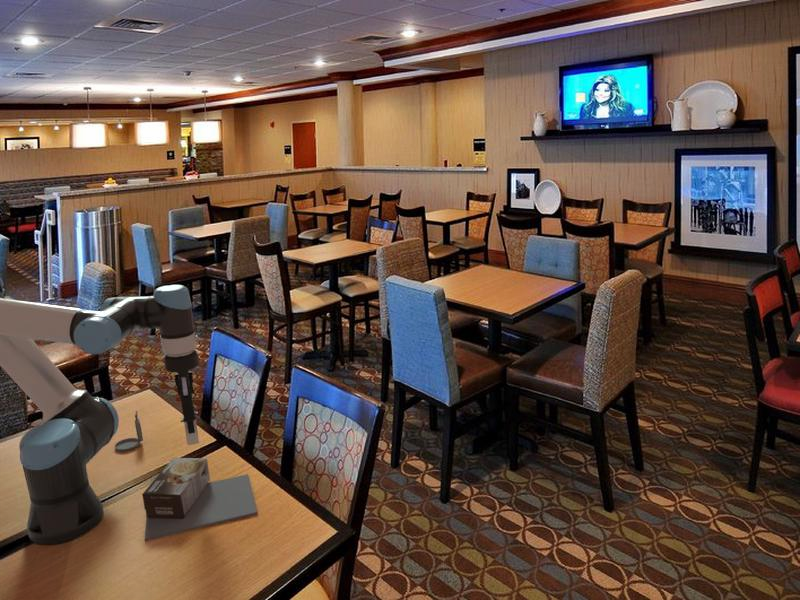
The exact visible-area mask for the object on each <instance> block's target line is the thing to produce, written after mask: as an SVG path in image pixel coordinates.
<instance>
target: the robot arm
mask: <svg viewBox="0 0 800 600" xmlns="http://www.w3.org/2000/svg"><path fill="white" fill-rule="evenodd" d="M4 286H5V284H4V281H3V279H2V277H1V276H0V367H1V368H2V369H3V370H4V371H5V373H7V375H8V376H9V377H10V378H11V379H12V380H13V381H14V383H15V384H17V386H18V387H19V389H21V391H23V392H24V393H25V395H26V396H27V397H28V398H29V399H30V400H31V401H32V402H33V403H34V405H36V406H37V408H38V409H39V410H40V411H41V412H42V419H41V423H42V424H37V425H35V426H33V427H31V428H30V429H29V430H28V431H26V433H24V434H23V436H22V437H21V439H20V441H19V444H18V445H19V446H18V449H19V460H20V464H21V466H22V469H23V473H24V478H25V482H26V487H27V491H28V494H29V499H30V505H29V506H30V507H29V512H28V518H27V524H26V529H27V535H28V538H29V540H30V541H31V542H32V543H35V544H38V545H48V546H49V545H57V544H62V543H66V542H69V541H72V540H74V539H78V538H79V537H82V536H84V535H86V534H87V533H88V532H90V531H92V530H93V529H95V528H96V527H97V526H98V525H99V523H101V521H102V519H103V518H104V508H103V504H102V501H101V500H100V498H99V497H98V495H97V494H96V492H95V491H94V490H93V488H92V486H91V485H90V480H89V475H88V472H87V464H88V463H89V462H90V461H91V460H92V459H93V458H94V457H95V456H96V455H97V454H98V453H99V452H100V451H101V450H102V449H103V448H104V447H106V445H108V444H109V443H110V442H111V440H112V439H113V437H114V436H115V435H116V433H117V431H118V429H119V423H120V422H119V421H120V420H119V414H118V411H117V409H116V408H115V406H114V405H113V404H112V403H111V402H110V401H109V400H108V399H106V398H100V397H99V396H92V395H91V394H90V393H89V391H88V390H87V389H77V388H76V387H75V386H74V385H73V384H72V383H71V382H70V380H69V379H68V378H67V377H66V376H65V375H64V374H63V373H62V371H61V370H60V369H59V368H58V367H57V366H56V365H55V363H54V362H53V361H52V360H51V359H50V357H49V356H48V355H47V354H46V353H45V351H43V350H42V349H41V347H40V346H39V345H38V344H37V343H36V342H35V340H39V341H47V342H56V343H61V344H70V345H76V346H77V348H78V349H79V350H82V351H83V352H85V353H86V354H88V355H100V354H102V353H105V352H107V351H109V350H111V349H112V348H114V347H115V346H117V344H119V343H120V342H121V341H123V340H124V339H125V338H127V337H128V336H130V335H131V334H134V333H135V332H136V331H138V330H152V329H153V330H154V329H155V330H156V329H158V330H159V334H160V335H159V336H160V337H159V338H160V344H161V349H162V353H163V354H164V355H163V362H164V369H165V370H166V371H167V372H170V373H174V381H175V382H174V384H175V386H176V388H177V394H178V396H180V402H181V410H182V415H183V418H182V417H181V418H180V422H181V423H184V432H185V439H186V444H187V446H191V445H198V444H200V440H199V439H200V438H199V432H198V426H197V418H196V416H198V415H199V413H198V410H197V411H195V405H194V401H193V394H194V385H193V384H194V377H193V371H191V370H194V369H196V368H197V367H198V366H199V363H200V361H199V360H200V359H199V354H198V350H197V349H196V348H197V340H199V336H198V335H197V334H196V332H195V326H194V316H193V304H192V300H191V296H190V291H189V288H187V286H184V284H183V285H182V284H170V285H162V286H159V287H157V288H155V289H154V291H153V295H151V296H149V295H147V296H145V295H143V296H124V295H122V296H117V297H110V298H109V297H108V298H107V299H105V300H104V301H103V303H102V304H101V306H100V309H99V310H90V309H83V308H78V307H69V306H61V305H53V304H48V303H40V302H31V301H24V300H18V299H17V300H16V299H11V298H10V299H9V298H6V297H5V296H4V295H5V288H4ZM195 334H196V335H195Z"/></svg>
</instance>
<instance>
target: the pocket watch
mask: <svg viewBox="0 0 800 600" xmlns="http://www.w3.org/2000/svg"><path fill="white" fill-rule="evenodd" d="M138 415H139V414H138V410H136V411H135V415H134V418H135V419H134V426H135V431H136V435H137V438H136V437H128V438H125V439H121V440H119V441H118V442H116V443H115V444H114V449H115V450H116V451H119V452H126V451H131V450H134V449H135V448H137V447H139V445H140V444H141V442H143V441H144V438H143V437H144V436H143V431H142V426H141V421H140V419H139V418H138Z"/></svg>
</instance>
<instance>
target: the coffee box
mask: <svg viewBox="0 0 800 600" xmlns="http://www.w3.org/2000/svg"><path fill="white" fill-rule="evenodd" d="M209 482H211V475H210V469H209V462H208V458H206V457H205V458H199V457H198V458H197V457H196V458H195V457H193V458H191V457H173V458H172V459H171V460H170V461H169V462H168V463H167V464H166V465H165V467H164V468H163V469H162V471H160V473H159V474H158V475H157V476H156V477H155V478H154V480H153V481H152V482H151V483H150V484H149V486H148V487H147V488H146V489H145V490H144V491H143V493H142V494H141V495H142V500H143V507H144V510H145V517H146V516H147V518H184V517H185V515H186V514H187V512H188V511H189V510H190V508H191V507H192V505H193V504H194V502H195V501H196V499H197V498H198V497H199V495H200V494H201V492H202V491H203V489H204V488H205V486H206V485H207V484H208V483H209Z"/></svg>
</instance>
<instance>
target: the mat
mask: <svg viewBox="0 0 800 600" xmlns="http://www.w3.org/2000/svg"><path fill="white" fill-rule="evenodd" d="M258 513H259V511H258V509H257V504H256V500H255V497H254V492H253V489H252V482H251V479H250V477H249V474H248V473H247V474H243V475H237V476H233V477H228V478H222V479H219V480H215V481H209V482H208V484H207V485H206V486H205V488H204V489H203V491H202V492H201V494H200V495H199V497H198V498H197V499H196V501H195V502H194V504H193V505H192V507H191V508H190V510H189V511H188V512H187V514H186V515H185V517H184V518H147V516H146V515H145V526H144V527H145V529H144V530H145V532H144V541H145V542H148V541H151V540H154V539H155V540H156V539H160V538H164V537H168V536H172V535H176V534H180V533H184V532H188V531H193V530H197V529H202V528H205V527H210V526H215V525H218V524H222V523H226V522H231V521H235V520H239V519H242V518H247V517H251V516H256V515H259V514H258Z"/></svg>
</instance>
